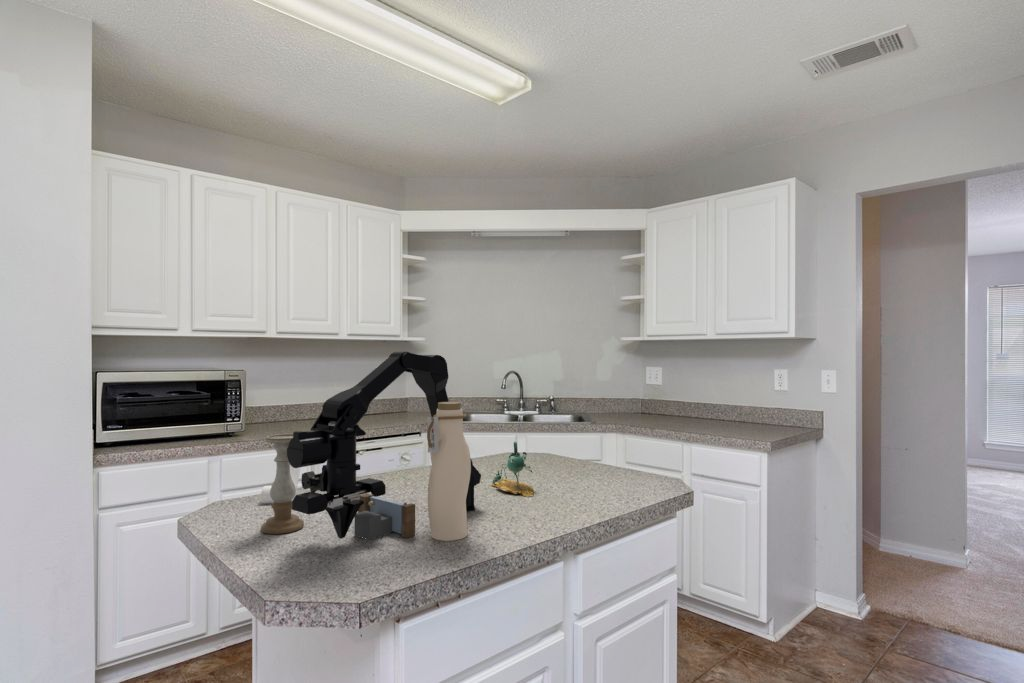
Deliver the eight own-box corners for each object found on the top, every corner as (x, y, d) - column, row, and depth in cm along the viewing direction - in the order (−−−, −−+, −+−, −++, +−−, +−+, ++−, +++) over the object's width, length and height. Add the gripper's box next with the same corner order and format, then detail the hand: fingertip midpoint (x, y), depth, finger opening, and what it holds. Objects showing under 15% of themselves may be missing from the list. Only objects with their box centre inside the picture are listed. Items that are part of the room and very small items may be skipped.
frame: (415, 535, 117) (415, 502, 117) (406, 538, 115) (406, 505, 115) (366, 522, 126) (366, 492, 127) (357, 524, 124) (358, 494, 125)
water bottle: (449, 547, 110) (449, 406, 110) (415, 539, 115) (415, 403, 115) (479, 532, 118) (479, 402, 119) (446, 526, 123) (446, 400, 124)
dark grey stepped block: (392, 533, 119) (392, 511, 119) (369, 540, 114) (369, 518, 114) (377, 528, 122) (377, 507, 122) (354, 536, 117) (354, 513, 117)
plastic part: (260, 505, 141) (260, 459, 141) (274, 495, 151) (274, 452, 151) (291, 504, 142) (290, 459, 142) (303, 494, 152) (302, 452, 152)
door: (405, 532, 118) (405, 504, 118) (397, 534, 116) (397, 506, 116) (374, 522, 125) (374, 496, 125) (366, 525, 123) (366, 497, 123)
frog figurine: (512, 482, 167) (515, 433, 166) (545, 502, 151) (549, 449, 150) (483, 485, 162) (487, 435, 161) (515, 506, 146) (519, 452, 145)
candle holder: (260, 536, 116) (261, 440, 117) (261, 525, 124) (262, 434, 125) (305, 531, 120) (305, 437, 120) (302, 520, 128) (303, 432, 128)
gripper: (353, 449, 124) (353, 519, 123) (276, 463, 109) (275, 542, 108) (387, 454, 117) (387, 528, 117) (309, 469, 102) (309, 554, 102)
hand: (341, 537), depth 111 cm, fingers closed
